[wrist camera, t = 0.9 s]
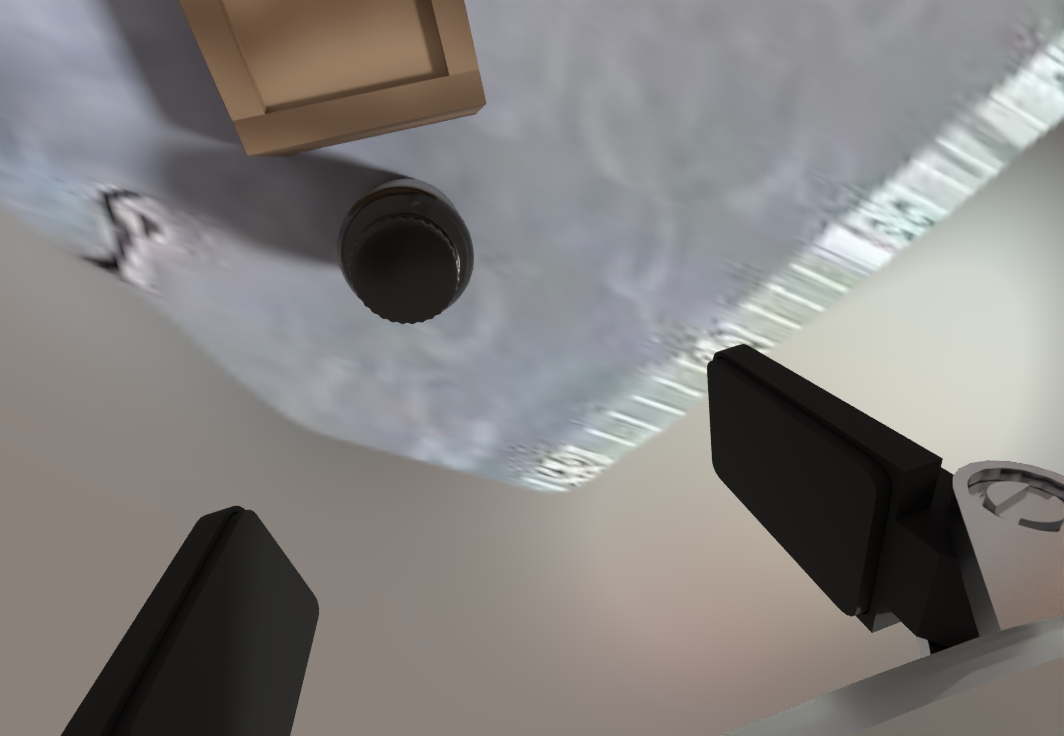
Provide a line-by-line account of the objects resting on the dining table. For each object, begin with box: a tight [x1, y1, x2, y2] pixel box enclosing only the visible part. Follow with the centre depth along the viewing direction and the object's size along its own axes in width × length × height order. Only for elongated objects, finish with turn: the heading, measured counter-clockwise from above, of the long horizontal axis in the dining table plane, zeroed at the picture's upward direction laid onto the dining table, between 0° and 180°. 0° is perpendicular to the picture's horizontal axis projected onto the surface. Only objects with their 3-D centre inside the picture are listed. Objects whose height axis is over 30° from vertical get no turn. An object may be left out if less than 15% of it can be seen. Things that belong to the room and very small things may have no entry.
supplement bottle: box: [337, 178, 474, 324], centre depth 25 cm, size 7×7×12 cm
